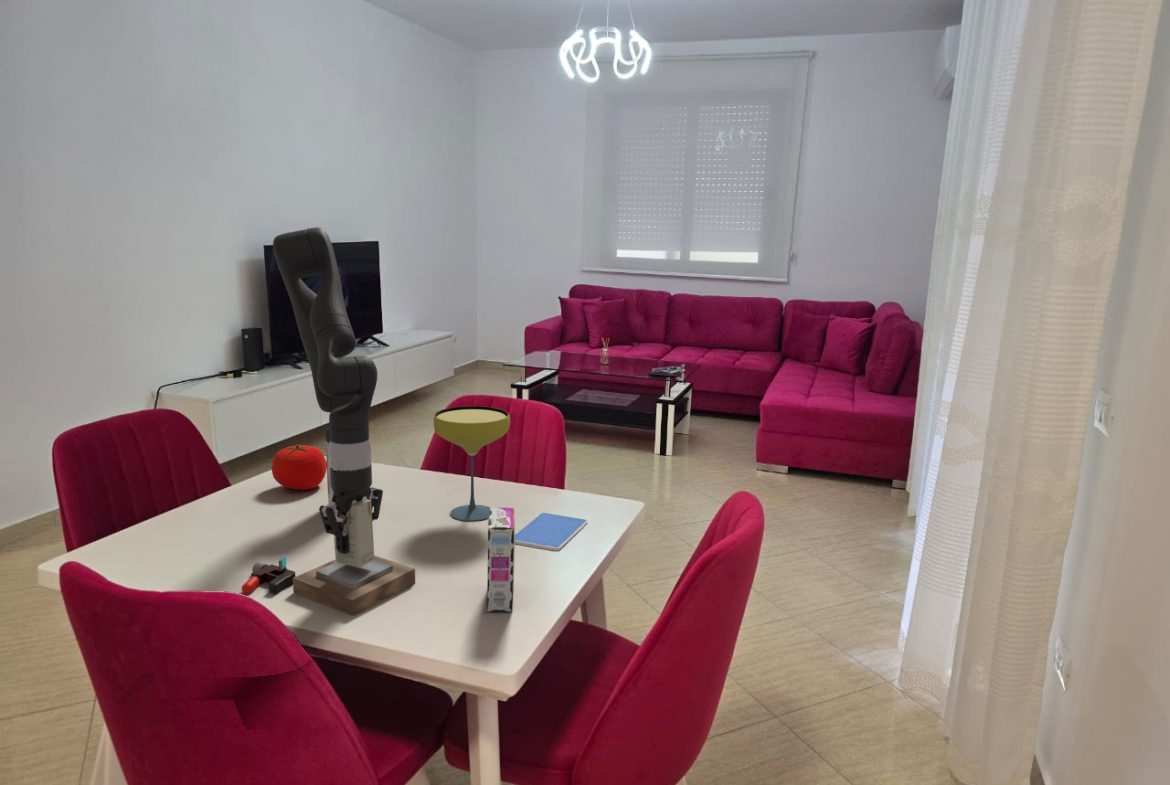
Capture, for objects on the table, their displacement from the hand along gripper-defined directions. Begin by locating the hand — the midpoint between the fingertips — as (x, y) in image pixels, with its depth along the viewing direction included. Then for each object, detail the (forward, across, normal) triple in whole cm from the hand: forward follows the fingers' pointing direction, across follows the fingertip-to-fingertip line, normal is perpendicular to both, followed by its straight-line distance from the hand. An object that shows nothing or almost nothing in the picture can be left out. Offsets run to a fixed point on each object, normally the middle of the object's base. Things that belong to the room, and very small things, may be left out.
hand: (353, 547), depth 149 cm
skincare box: (+3, 0, 0) cm, 3 cm away
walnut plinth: (+8, 0, 0) cm, 8 cm away
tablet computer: (+9, -45, +15) cm, 48 cm away
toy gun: (+9, +9, -16) cm, 20 cm away
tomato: (+9, -33, -56) cm, 65 cm away
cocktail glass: (+9, -44, -7) cm, 45 cm away
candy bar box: (+8, -12, +26) cm, 30 cm away
